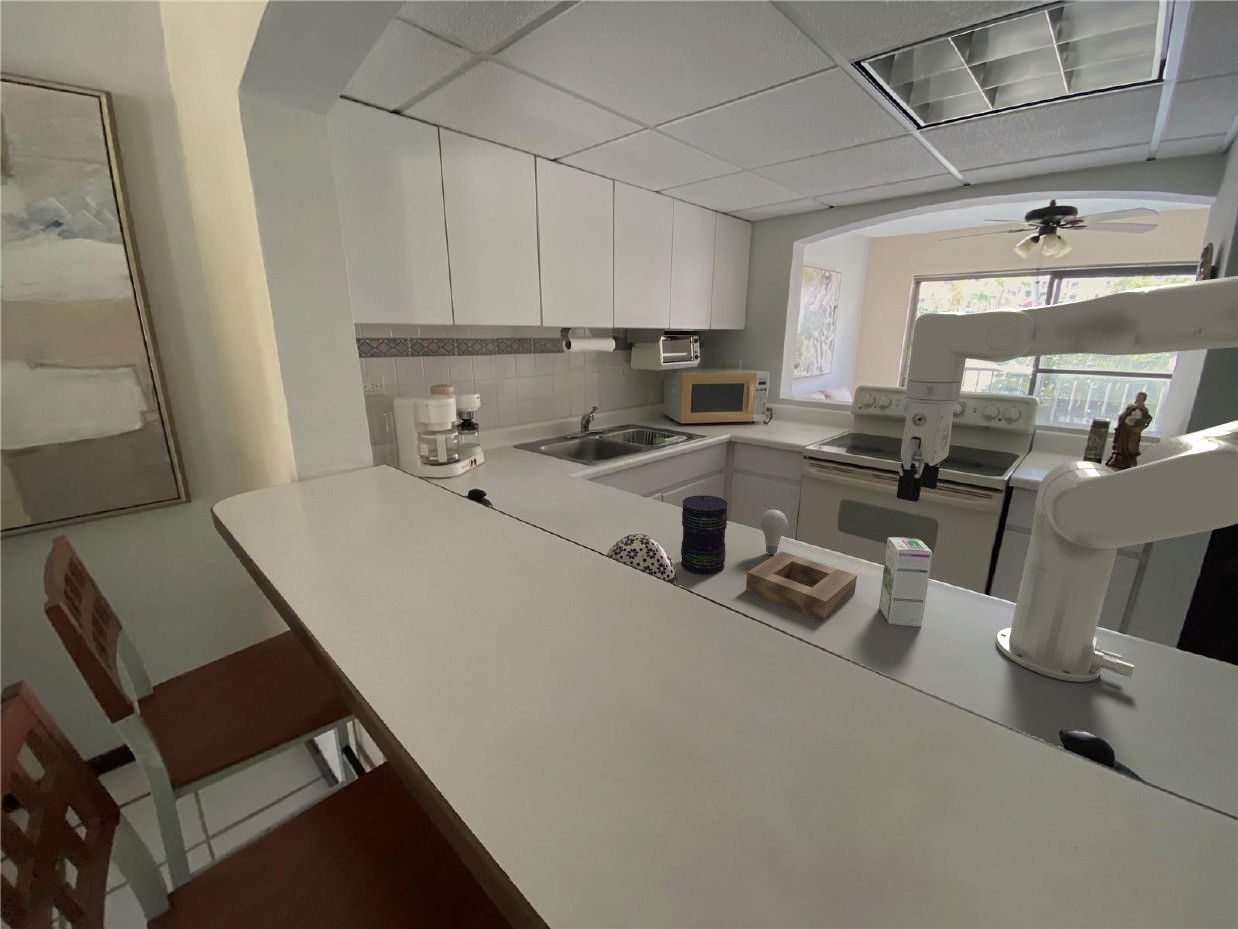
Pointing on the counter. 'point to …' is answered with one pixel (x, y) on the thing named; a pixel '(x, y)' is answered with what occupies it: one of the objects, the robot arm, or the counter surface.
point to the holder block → (815, 601)
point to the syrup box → (905, 581)
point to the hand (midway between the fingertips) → (916, 493)
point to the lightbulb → (773, 529)
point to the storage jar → (704, 534)
